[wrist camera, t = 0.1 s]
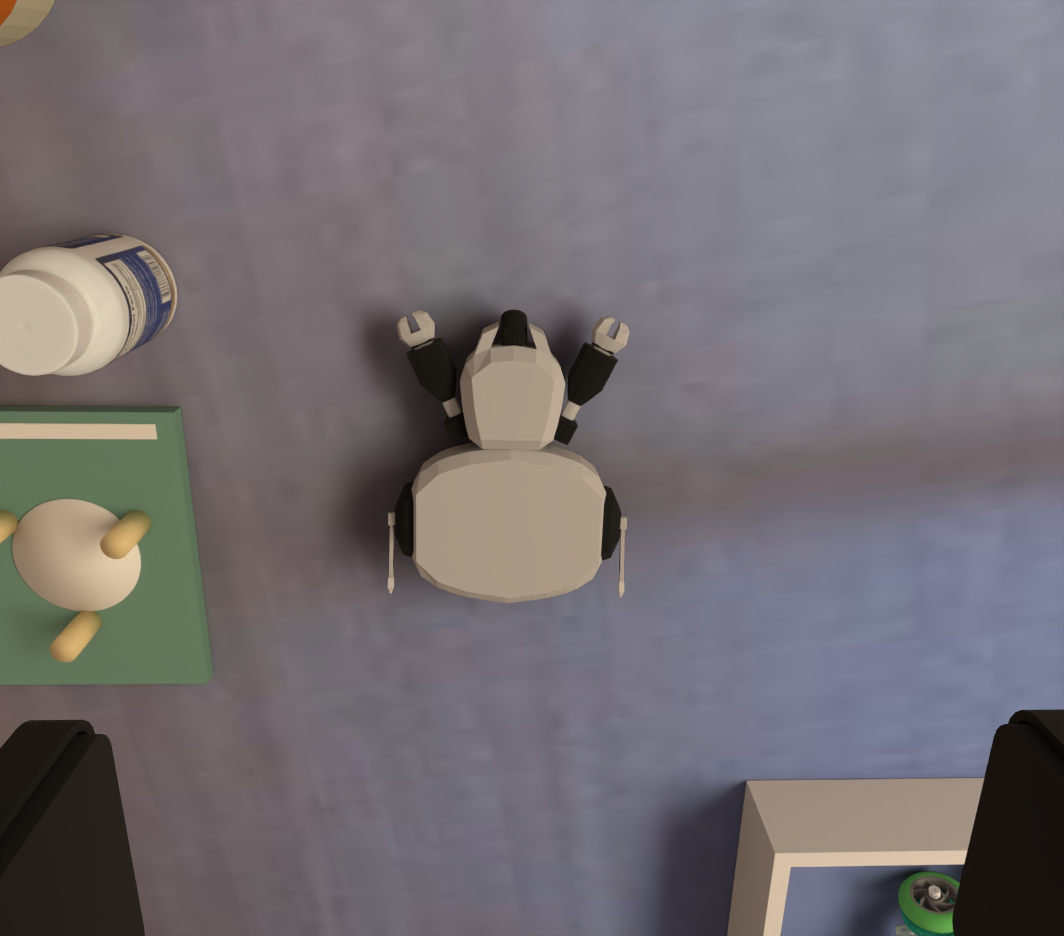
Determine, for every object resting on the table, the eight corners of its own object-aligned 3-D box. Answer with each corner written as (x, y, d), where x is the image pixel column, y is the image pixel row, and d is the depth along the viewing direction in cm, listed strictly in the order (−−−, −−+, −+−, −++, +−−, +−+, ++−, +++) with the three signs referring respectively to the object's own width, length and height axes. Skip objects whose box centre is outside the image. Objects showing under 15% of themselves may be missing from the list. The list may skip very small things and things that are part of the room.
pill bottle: (56, 317, 43) (-62, 362, 34) (82, 214, 42) (-34, 232, 33) (164, 359, 44) (77, 414, 35) (194, 259, 43) (111, 290, 33)
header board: (-59, 405, 45) (-110, 428, 41) (180, 406, 45) (151, 430, 41) (0, 674, 50) (-40, 717, 46) (213, 673, 51) (190, 715, 47)
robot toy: (393, 300, 45) (395, 573, 49) (381, 309, 40) (385, 608, 44) (631, 308, 45) (614, 577, 49) (646, 317, 41) (625, 611, 45)
